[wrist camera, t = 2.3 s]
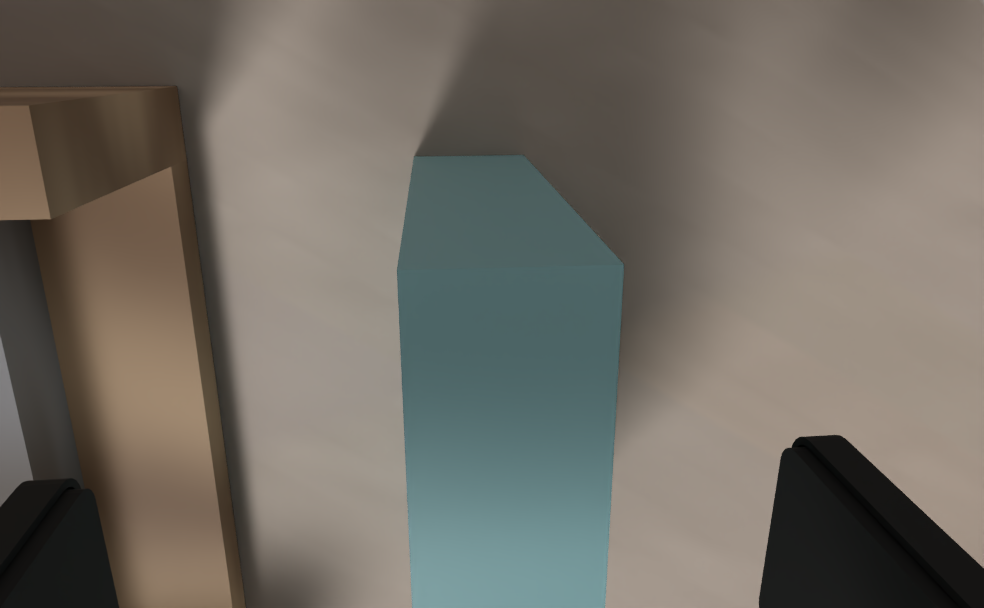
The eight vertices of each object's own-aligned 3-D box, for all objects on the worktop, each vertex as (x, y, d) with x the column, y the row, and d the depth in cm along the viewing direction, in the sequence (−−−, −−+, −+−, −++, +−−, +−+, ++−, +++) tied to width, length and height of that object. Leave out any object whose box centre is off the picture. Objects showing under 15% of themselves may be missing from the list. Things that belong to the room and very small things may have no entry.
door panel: (519, 539, 20) (587, 910, 11) (427, 544, 19) (426, 925, 11) (523, 154, 16) (623, 264, 8) (413, 156, 16) (396, 270, 8)
